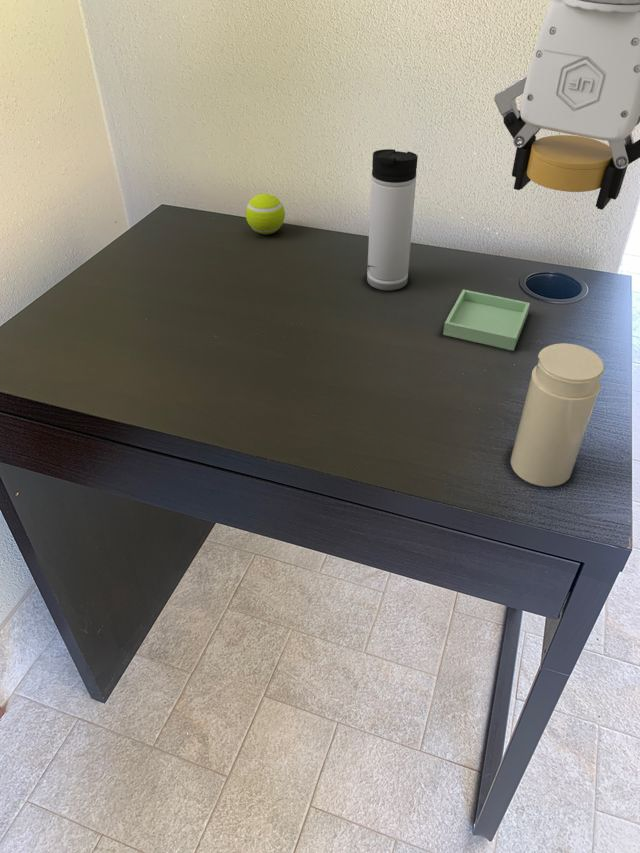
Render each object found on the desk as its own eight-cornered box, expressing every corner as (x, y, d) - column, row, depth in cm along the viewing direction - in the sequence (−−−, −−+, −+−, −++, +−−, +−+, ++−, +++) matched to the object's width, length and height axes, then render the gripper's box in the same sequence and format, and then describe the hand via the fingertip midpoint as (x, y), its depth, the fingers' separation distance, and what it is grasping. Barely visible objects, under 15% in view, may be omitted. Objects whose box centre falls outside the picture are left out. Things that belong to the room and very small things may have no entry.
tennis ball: (291, 236, 118) (290, 199, 113) (254, 244, 116) (252, 206, 111) (277, 221, 122) (275, 184, 118) (242, 228, 120) (238, 191, 116)
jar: (575, 454, 77) (610, 350, 67) (567, 493, 72) (603, 388, 63) (516, 438, 79) (542, 335, 69) (504, 476, 74) (530, 371, 65)
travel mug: (360, 287, 105) (365, 155, 91) (374, 268, 109) (381, 139, 96) (399, 295, 103) (409, 162, 90) (412, 275, 107) (424, 145, 94)
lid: (621, 175, 66) (629, 148, 64) (584, 199, 62) (592, 170, 60) (550, 156, 70) (556, 129, 68) (511, 177, 66) (516, 149, 64)
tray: (527, 314, 99) (530, 302, 97) (513, 350, 92) (516, 338, 91) (461, 301, 102) (462, 289, 100) (442, 335, 95) (444, 322, 94)
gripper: (494, -22, 56) (463, 188, 68) (721, 2, 49) (643, 231, 61) (526, -34, 61) (492, 163, 73) (737, -14, 54) (662, 201, 66)
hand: (561, 193), depth 67 cm, fingers closed on lid, 7 cm apart
